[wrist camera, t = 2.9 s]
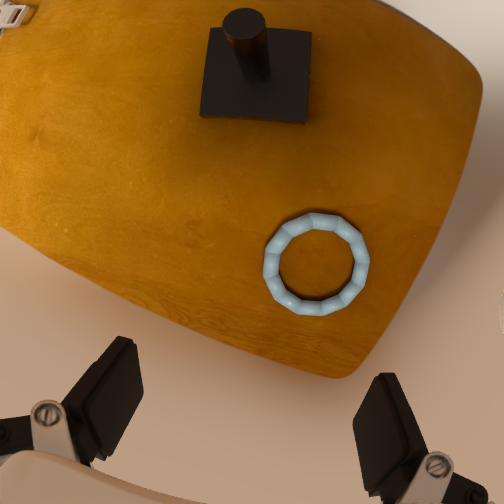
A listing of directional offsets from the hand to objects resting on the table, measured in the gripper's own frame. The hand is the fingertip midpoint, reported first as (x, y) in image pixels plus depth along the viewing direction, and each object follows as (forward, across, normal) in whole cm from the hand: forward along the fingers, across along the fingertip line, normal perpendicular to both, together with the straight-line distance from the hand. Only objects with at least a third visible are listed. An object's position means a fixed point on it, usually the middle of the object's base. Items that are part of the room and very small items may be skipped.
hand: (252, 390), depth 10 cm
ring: (+17, -5, +1) cm, 17 cm away
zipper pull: (+18, +44, -33) cm, 58 cm away
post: (+17, +3, -16) cm, 24 cm away
